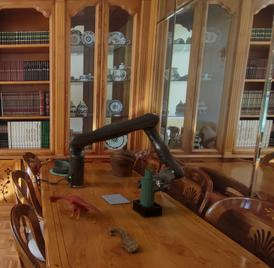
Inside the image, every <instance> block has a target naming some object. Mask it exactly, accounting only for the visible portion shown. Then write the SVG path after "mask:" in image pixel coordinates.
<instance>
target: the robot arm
mask: <svg viewBox="0 0 274 268" xmlns="http://www.w3.org/2000/svg"><path fill="white" fill-rule="evenodd" d="M160 121H161V118H160V117H159V115H158V114H157V113H154V112H147V113H144V114H142V115H138V116H137V117H136V116H135V117H133V118H130V119H125V120H119V121H115V122H111V123H108V124H104V125H102V126H100V127H98V128H96V129H94V130H91V131H87V132H78V131H75V132H73V133H71V134H70V136H69V155H68V156H69V157H68V158H69V159H68V160H69V170H68V175H65V176H64V178H61V179H58V180H57V181H55V182H50V180H47V179H42V178H40V179H39V178H37V179H35V180H36V182H38V181H41V182H47V183H48V184H49V185H58V184H59V183H60V182H61V181H66V183H67V185H68V186H69V187H70V188H74V189H75V188H76V189H81V188H84V187H85V164H86V163H85V160H86V153H85V151H86V150H85V148H86V147H88V146H91V145H93V144H97V143H102V142H107V141H111V140H115V139H120V138H122V137H125V136H127V135H129V134H131V133H134V132H137V131H143V133H144V134H145V135H146V137H147V138H148V140H149V142H150V144H151V146H152V147H153V149H154V152H155V154H156V156H157V158H158V160H159V163H160V164H161V165H169V166H170V167H166V168H164V169H162V170H161V171H160V172H157V173H154V174H153V177H154V178H155V179H156V187H154V188H153V191H152V193H155V194H156V193H160V192H161V193H163V194H164V193H167V192H169V191H170V190H171V184H172V183H173V182H174V181H176V180H177V181H178V180H181V179H183V178H184V177H185V171H184V169H183V168H182V166H181V165H180V164H179V163H178V162H177V160H176V159H175V158H174V156H173V154H172V152H171V150H170V147H169V146H168V144H167V143H166V142H165V140H164V139H163V138H162V137H161V135H160V133H159V131H158V129H157V127H158V125H159V124H160ZM141 178H142V177H140V178H139V179H138V180H137V184H136V185H137V189H138V190H141Z"/></svg>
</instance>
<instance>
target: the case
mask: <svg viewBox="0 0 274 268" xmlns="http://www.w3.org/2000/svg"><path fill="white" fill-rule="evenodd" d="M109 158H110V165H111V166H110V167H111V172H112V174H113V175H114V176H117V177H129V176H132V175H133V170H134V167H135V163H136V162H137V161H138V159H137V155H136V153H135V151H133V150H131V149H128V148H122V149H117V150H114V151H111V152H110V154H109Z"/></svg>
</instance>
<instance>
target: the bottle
mask: <svg viewBox="0 0 274 268" xmlns="http://www.w3.org/2000/svg"><path fill="white" fill-rule="evenodd" d="M153 175H154V169H152V168H145V169H144V175H143V176H141V177H140V178H141V188H140V193H139V199H140V204H141V205H142V206H144V207H145V208H146V207H154V202H155V198H156V193H152V191H153V188H154V187H156V179H155V178H154V177H153Z"/></svg>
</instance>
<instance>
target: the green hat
mask: <svg viewBox="0 0 274 268" xmlns="http://www.w3.org/2000/svg"><path fill="white" fill-rule="evenodd" d="M53 162H54V164H53V168H51V169H50V170H49V171H48V172H49V174H52V175H54V176H60V177H65V175H68V170H69V159H67V158H58V159H54V161H53Z"/></svg>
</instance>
